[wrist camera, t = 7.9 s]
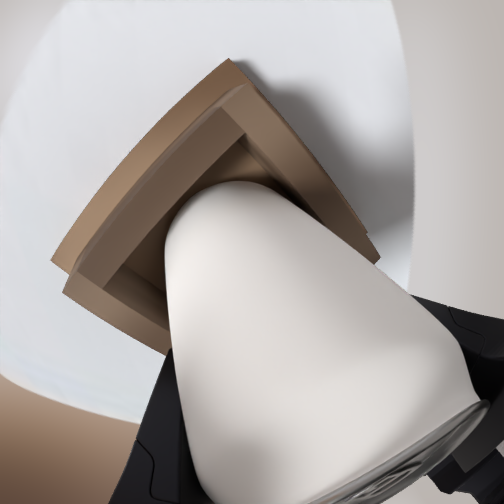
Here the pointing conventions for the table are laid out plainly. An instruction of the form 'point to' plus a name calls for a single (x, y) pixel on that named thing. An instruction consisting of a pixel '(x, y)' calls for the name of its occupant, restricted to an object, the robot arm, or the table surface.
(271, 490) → the can
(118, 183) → the socket
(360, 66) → the table surface
